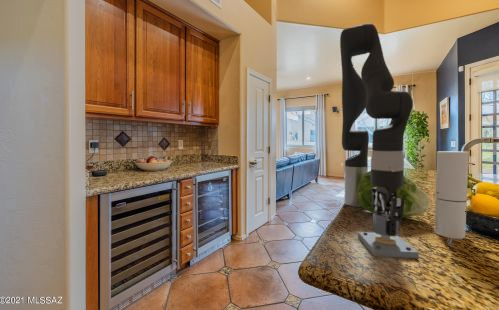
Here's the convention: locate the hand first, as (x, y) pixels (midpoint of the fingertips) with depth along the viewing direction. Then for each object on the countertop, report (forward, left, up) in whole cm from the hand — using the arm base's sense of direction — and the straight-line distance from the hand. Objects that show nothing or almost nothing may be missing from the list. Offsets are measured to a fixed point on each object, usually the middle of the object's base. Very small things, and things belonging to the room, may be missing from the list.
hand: (385, 230), depth 64 cm
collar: (0, 0, 0) cm, 0 cm away
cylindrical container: (-11, +23, -5) cm, 26 cm away
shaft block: (0, 0, -4) cm, 4 cm away
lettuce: (-28, +14, -5) cm, 31 cm away
